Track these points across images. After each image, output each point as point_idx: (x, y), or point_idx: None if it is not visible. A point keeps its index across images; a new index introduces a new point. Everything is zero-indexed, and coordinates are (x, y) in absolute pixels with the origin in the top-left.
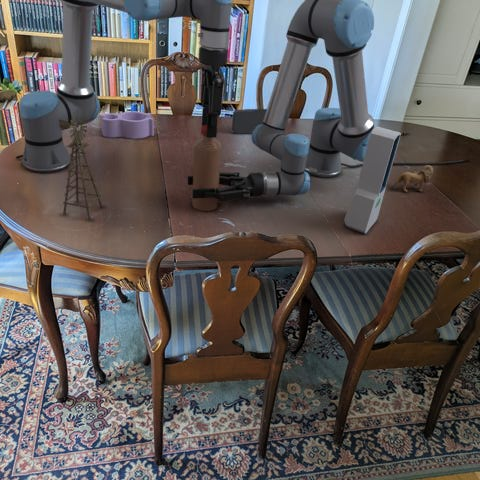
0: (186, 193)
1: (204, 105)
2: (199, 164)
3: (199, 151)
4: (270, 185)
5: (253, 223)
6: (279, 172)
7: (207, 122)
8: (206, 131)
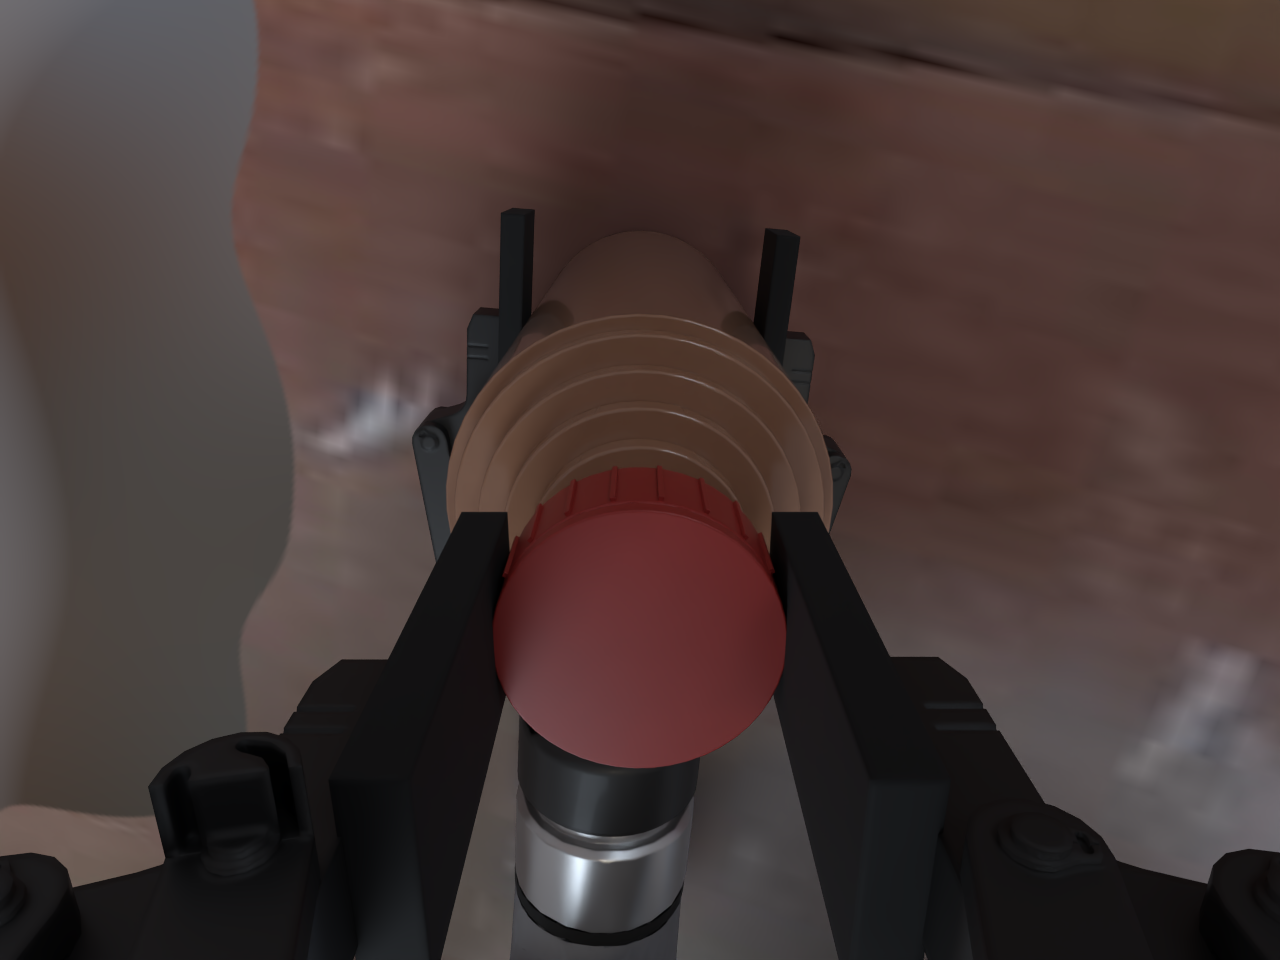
0: (844, 234)
1: (966, 888)
2: (536, 318)
3: (519, 346)
4: (518, 830)
5: (345, 571)
6: (609, 957)
7: (422, 652)
8: (521, 554)
